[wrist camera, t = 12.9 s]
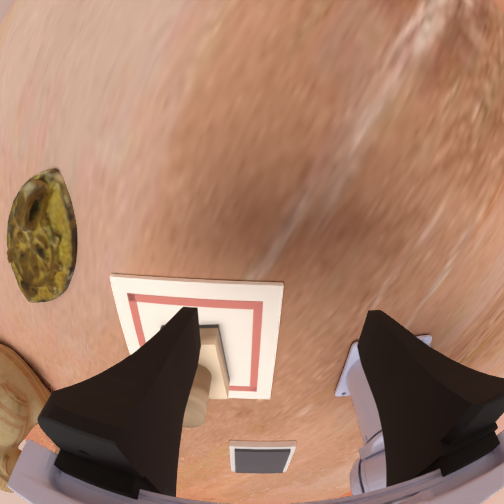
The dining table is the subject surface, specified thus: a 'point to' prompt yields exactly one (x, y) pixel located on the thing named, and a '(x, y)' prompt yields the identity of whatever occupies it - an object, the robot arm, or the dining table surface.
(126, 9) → the dining table surface
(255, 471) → the ink pad
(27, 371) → the ceramic vessel
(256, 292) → the board
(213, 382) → the stamp
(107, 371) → the robot arm
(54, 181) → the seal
